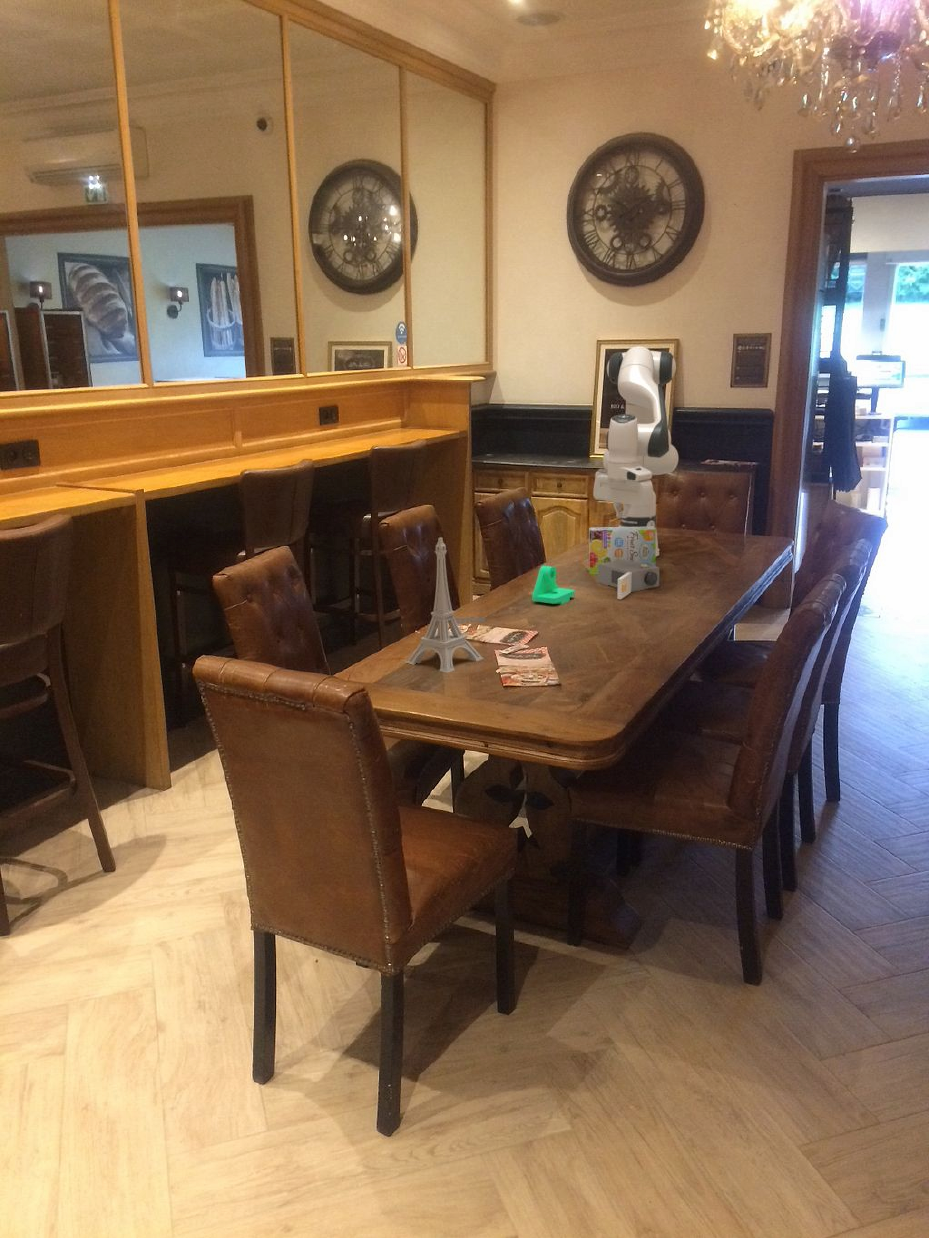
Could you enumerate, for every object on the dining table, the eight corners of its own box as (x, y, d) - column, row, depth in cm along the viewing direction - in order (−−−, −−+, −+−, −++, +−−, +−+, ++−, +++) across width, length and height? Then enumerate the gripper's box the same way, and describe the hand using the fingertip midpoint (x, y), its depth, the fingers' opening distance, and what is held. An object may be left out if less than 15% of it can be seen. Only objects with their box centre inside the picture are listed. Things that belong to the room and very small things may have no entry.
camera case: (597, 582, 311) (597, 561, 309) (623, 577, 316) (624, 556, 315) (635, 592, 297) (635, 570, 295) (662, 587, 302) (662, 565, 300)
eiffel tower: (441, 650, 246) (437, 531, 238) (483, 659, 238) (480, 536, 230) (405, 663, 236) (399, 539, 228) (447, 673, 228) (443, 545, 220)
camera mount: (555, 607, 283) (554, 572, 280) (532, 604, 287) (532, 569, 285) (575, 598, 293) (575, 564, 290) (553, 595, 297) (553, 562, 294)
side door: (624, 599, 288) (624, 579, 287) (617, 598, 289) (617, 579, 287) (634, 591, 297) (634, 572, 295) (628, 591, 298) (628, 571, 296)
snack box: (653, 571, 325) (654, 525, 321) (655, 575, 319) (656, 528, 315) (588, 571, 327) (589, 526, 323) (589, 575, 321) (589, 529, 317)
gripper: (588, 469, 297) (588, 514, 301) (643, 476, 282) (641, 523, 286) (602, 466, 301) (602, 511, 305) (656, 473, 286) (655, 520, 290)
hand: (621, 517), depth 295 cm, fingers closed
